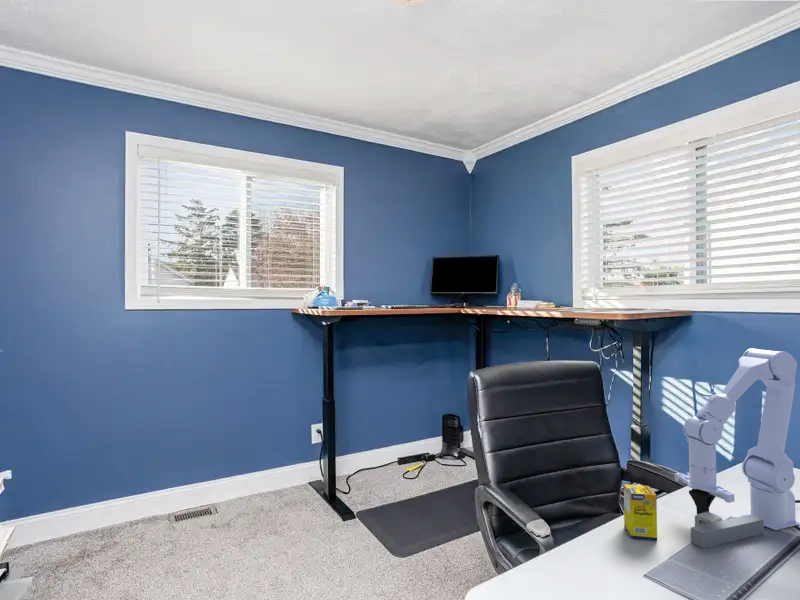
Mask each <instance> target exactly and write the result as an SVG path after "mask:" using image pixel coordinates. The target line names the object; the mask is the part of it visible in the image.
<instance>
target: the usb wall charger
mask: <svg viewBox="0 0 800 600" xmlns="http://www.w3.org/2000/svg"><path fill="white" fill-rule="evenodd" d="M722 520H723V518H722V516H720V515H718V514H715V513H712V512H710V511H709V512H708V511H706V512H703V513H701V514H698V515H697V514H695V515H694V527H695V526H699V525H704V524H708V523H713V522H718V521H722Z"/></svg>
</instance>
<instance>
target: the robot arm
mask: <svg viewBox="0 0 800 600" xmlns="http://www.w3.org/2000/svg"><path fill="white" fill-rule="evenodd" d="M738 365H739V366H738V368H737V369H736V371H734V373H733V375H732V376H731V378H730V379H729V381H728V382H727V383H726V385H725V387H724V388H723V389H722V391H721V393H717V394H712V395H711V396H709V397H708V399H707V402H706V403H705V404H704V405H703V406H702V408H700V409H699V411H698V412H697V413H696V414H695V415H693V416H692V417H689V418H688V419H686V421H685V422H684V425H683V426H682V431H683V433H684V436H685V437H686V441H687V443H688V468H689V469H688V471H689V474H685V473H682V472H676V473H674V482H677V483H683V484H684V485H687V486H688V488H691V489H689V490H688V494H689V496H690V497H691V499H692V501H693V502H694V505H695V508H696V515H698V514H701V513H703V512H706V511H708V512H710V506H711V505H712V503H713V501H714V500H715V499H716V497H717V498H718V499H722V500H724V502H726V503H728V504H730V503H734V502H735V493H734V492H731V491H729V490H727V489H726V488H724V487H722V486H721V485H719V484H718V483H717V447H716V445H717V443H718V442H719V441H720V440H721V439H722V437H723V430H724V425H725V424H726V423H727V421H728V420H729V419H730V418H731V416H732V415H733V414H734V413H735V411H736V410H737V405H736V402H737V401H738V399H739V398H740V397H741V396H742V395H743V394H744V393H745V392H746V391H747V390H748V389H749V388H750V387H751V386H752V385H753V384H754V383H755V382H756V381H761V382H762V383H763V384H764V385H765V386H766V391H765V397H764V404H763V410H762V415H761V422H760V426H759V427H760V428H759V432H758V437H757V438H758V439H757V445H755V446H754V447H751V448H749V449H748V450H747V455H746V456H745V459H744V460H743V462H742V465H741V470H742V471H741V472H742V473H743V475H744V476H745V477H746V478H747V482H748V483H750V484H749V486H750V487H749V488H750V493H749V494H750V512H749V513H745V514H742V515H741V516H745V515H750V514H751V515H753V516H756V517H758V518H761V519H763V527H766V528H768V529H770V530H773V531H778V530H783V529H787V528H791V527H796V526H799V525H800V521H797V520H796V496H795V495H794V493H793V491H792V490H791V489H792V488H793V487H794V484H795V482H796V481H795V480H796V478H795V473H794V467H795V466H794V465H795V464H794V462H793V461H792V460H791V459H790V457H788V454H786V453H785V450H786V449H785V448H786V442H787V437H788V431H789V425H790V420H791V414H792V413H791V412H792V408H793V401H794V397H795V396H794V394H795V388H796V374H797V367H798V362H797V360H796V359H795V358H794V357H793V356H792V355H791V353H789V352H788V351H783V350H782V351H781V350H780V351H778V350H769V349H768V350H767V349H760V348H759V349H758V348H754V347H753V348H748V349H747V350H745V351H744V352H743V354H742V356H741V357H740V358H739V359H738Z"/></svg>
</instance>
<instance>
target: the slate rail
mask: <svg viewBox="0 0 800 600" xmlns="http://www.w3.org/2000/svg"><path fill="white" fill-rule="evenodd" d="M744 515H745V514H744ZM764 527H765V526H763V519H761V518H758V517H756V516H753V515H751V514H750V515H745V516H742V515H741V516H736V517H733V518H727V519H722V521H718V522H713V523H708V524H704V525H699V526H695V525H694V526H691V527H690V543H691V544H694V545H695V544H696V545H695V546H697V545H698V546H697V547H699V546H700V547H699V548H701V547H702V549H703V548H704V549H707V548H706V547H708V548H710V546H712V547H715V546H714V545H716V546H719V544H720V545H723V543H724V544H727V543H726V542H729V543H731V542H730V541H733V542H735V541H734V540H737V541H739V539H741V540H744V539H743V538H745V539H747V538H746V537H749V538H751V537H750V536H754V537H756V536H755V535H758V536H762V535H764V532H765V531H764V529H765V528H764ZM761 534H762V535H761Z"/></svg>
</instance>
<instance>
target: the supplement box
mask: <svg viewBox="0 0 800 600" xmlns="http://www.w3.org/2000/svg"><path fill="white" fill-rule="evenodd" d="M657 498H658V497H657V494H656V493H655V492H654V491H653V489H652V488H651V487H650V486H649V485H639V484H623V521H624V522H623V523H624V524H623V525H624V526H623V527H624V529H625V531H626V532H627V534H628V536H629V538H630V539H632V540H633V539H634V540H644V541H645V540H646V541H655V542H657V541H658V520H657V519H658V514H657V511H658V510H657V509H658V507H657Z"/></svg>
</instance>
